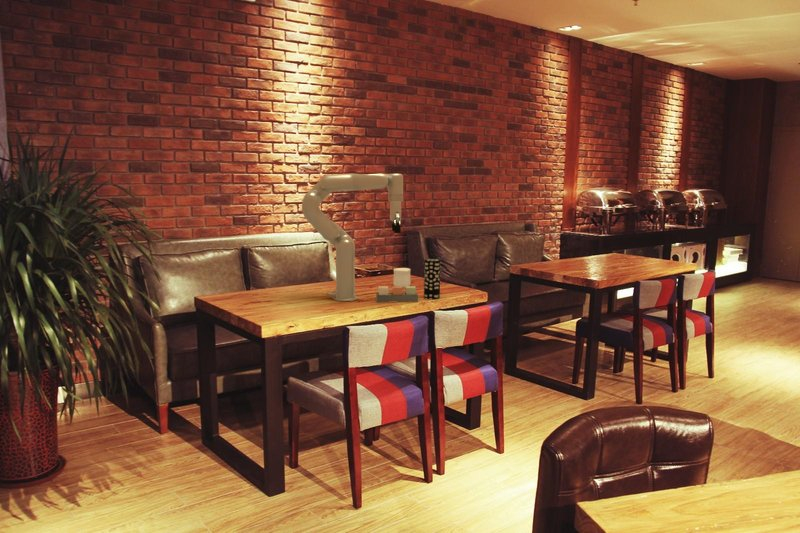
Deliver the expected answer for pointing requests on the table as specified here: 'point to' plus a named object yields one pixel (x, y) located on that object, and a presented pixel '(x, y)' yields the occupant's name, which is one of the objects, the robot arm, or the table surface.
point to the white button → (382, 290)
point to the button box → (396, 297)
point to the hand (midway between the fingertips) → (396, 232)
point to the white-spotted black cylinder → (432, 278)
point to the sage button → (410, 290)
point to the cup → (401, 277)
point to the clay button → (396, 290)
